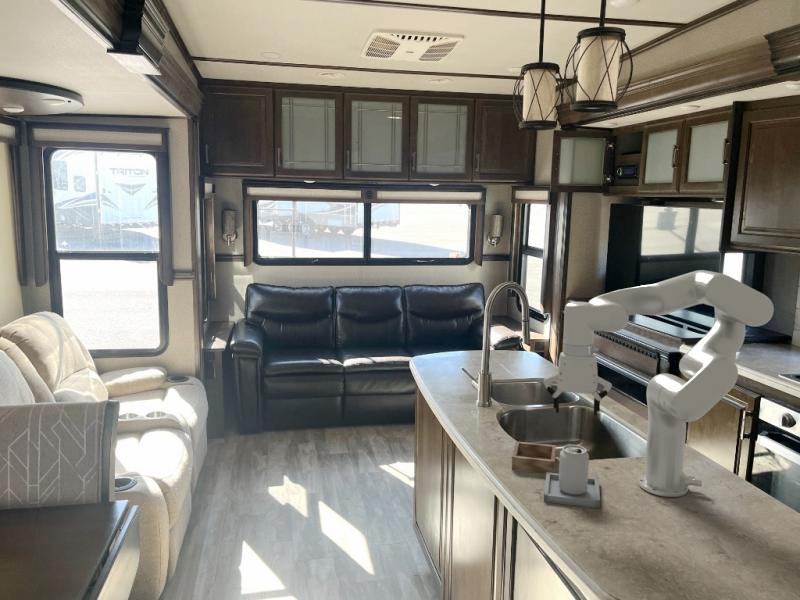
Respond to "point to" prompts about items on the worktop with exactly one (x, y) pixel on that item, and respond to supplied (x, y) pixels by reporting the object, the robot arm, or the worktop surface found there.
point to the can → (573, 470)
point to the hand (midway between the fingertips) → (576, 412)
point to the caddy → (534, 463)
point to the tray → (558, 496)
